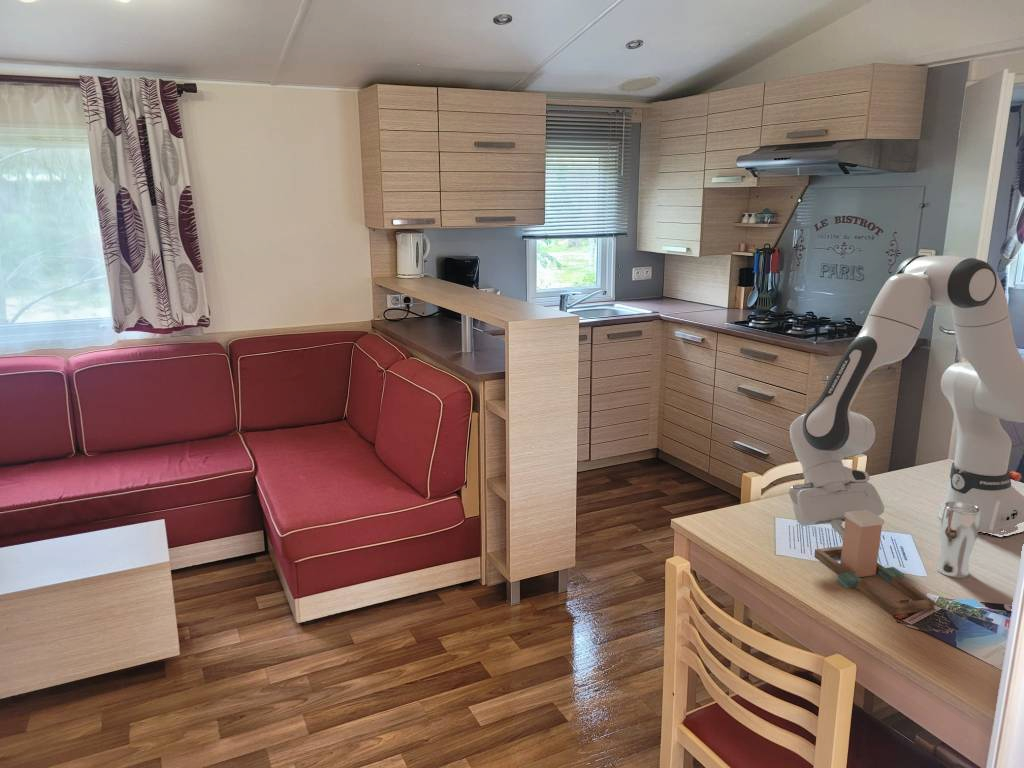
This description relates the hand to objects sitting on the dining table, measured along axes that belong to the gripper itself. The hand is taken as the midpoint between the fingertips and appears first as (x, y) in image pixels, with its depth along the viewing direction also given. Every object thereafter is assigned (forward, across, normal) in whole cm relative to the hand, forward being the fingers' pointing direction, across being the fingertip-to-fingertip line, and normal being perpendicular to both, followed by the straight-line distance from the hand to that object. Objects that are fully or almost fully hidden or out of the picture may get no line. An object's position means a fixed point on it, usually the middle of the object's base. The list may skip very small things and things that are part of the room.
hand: (850, 540), depth 162 cm
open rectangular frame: (+9, 0, -1) cm, 9 cm away
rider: (+6, 0, +2) cm, 7 cm away
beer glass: (+10, +20, -1) cm, 22 cm away
